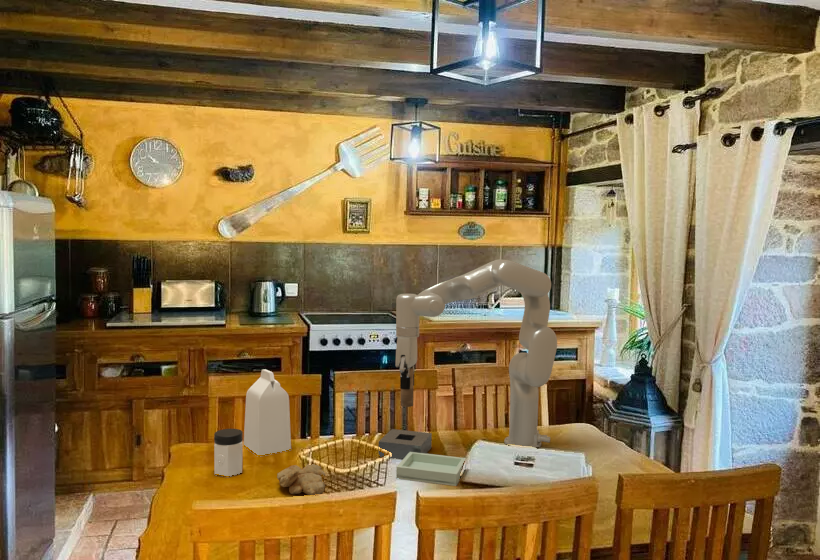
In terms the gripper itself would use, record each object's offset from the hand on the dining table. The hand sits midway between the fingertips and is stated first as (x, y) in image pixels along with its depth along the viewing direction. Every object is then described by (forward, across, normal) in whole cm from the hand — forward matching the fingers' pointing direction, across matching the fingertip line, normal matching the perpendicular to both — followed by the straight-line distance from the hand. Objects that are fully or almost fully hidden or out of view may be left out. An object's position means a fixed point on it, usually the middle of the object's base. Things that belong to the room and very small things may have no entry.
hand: (407, 386), depth 215 cm
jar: (+21, +34, -45) cm, 61 cm away
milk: (+22, +12, -45) cm, 51 cm away
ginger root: (+22, +39, -19) cm, 49 cm away
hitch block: (+22, 0, 0) cm, 22 cm away
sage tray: (+22, +16, +13) cm, 30 cm away
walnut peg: (+6, 0, 0) cm, 6 cm away
